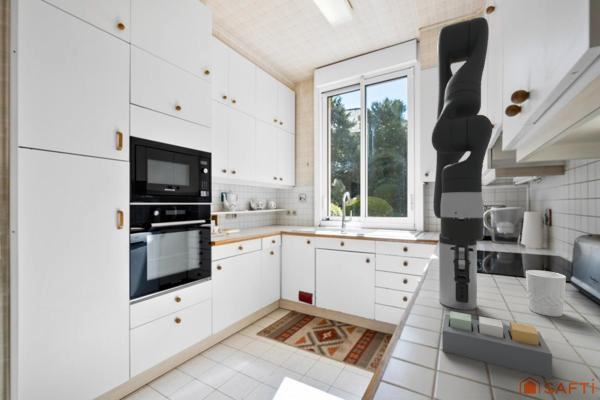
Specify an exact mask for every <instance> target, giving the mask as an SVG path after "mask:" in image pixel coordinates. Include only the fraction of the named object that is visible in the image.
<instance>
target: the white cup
mask: <svg viewBox="0 0 600 400" xmlns="http://www.w3.org/2000/svg"><path fill="white" fill-rule="evenodd" d="M566 279H567V276H566V275H564V274H562V273H558V272H553V271H548V270H536V269H530V270H529V269H528V270H526V271H525V280H526V281H525V282H526V294H527V300H528V301H527V303H528V309H529V310H530V311H532V312H533V313H535V314H539V315H542V316H547V317H562V316H564V305H565V297H566Z"/></svg>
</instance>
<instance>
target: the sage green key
mask: <svg viewBox="0 0 600 400" xmlns="http://www.w3.org/2000/svg"><path fill="white" fill-rule="evenodd" d="M449 315H450V327H453V328H457V329H462V330H467V331H471V319H472V314H468V313H462V312H458V311H452V310H451V311H450V314H449Z"/></svg>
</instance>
